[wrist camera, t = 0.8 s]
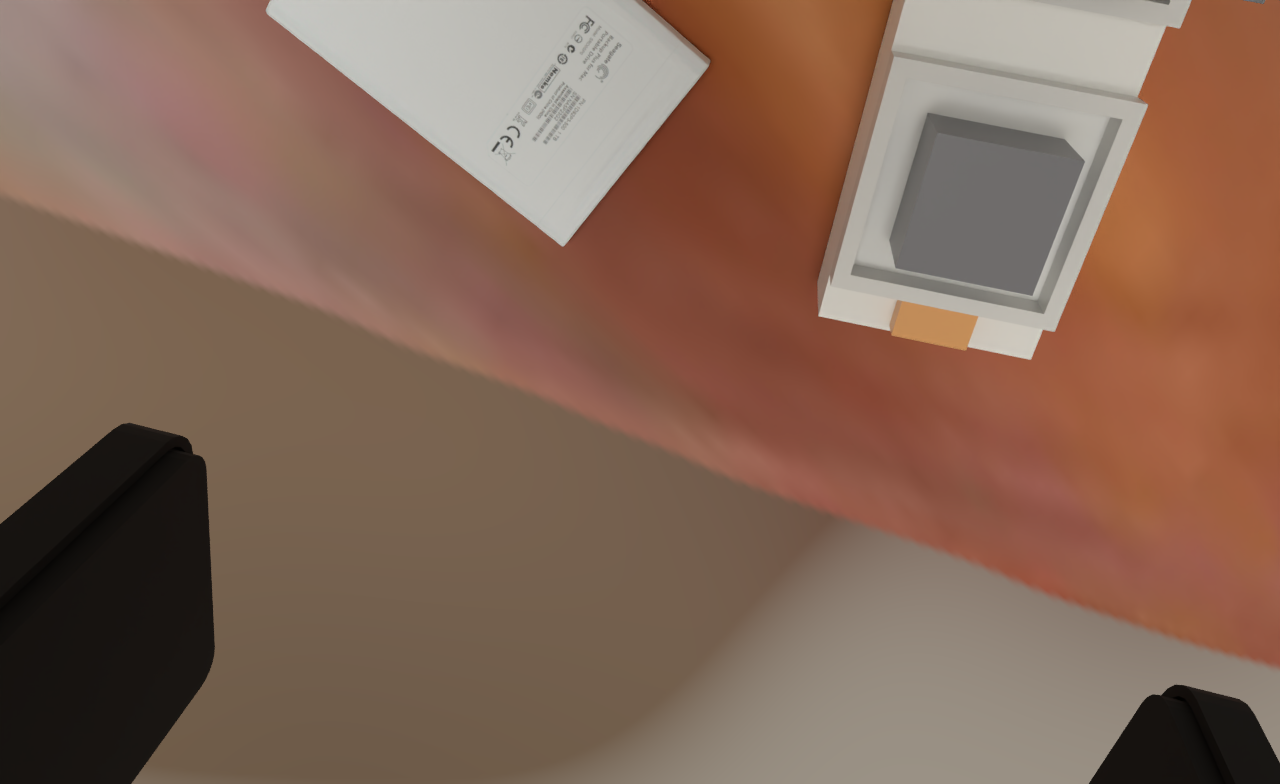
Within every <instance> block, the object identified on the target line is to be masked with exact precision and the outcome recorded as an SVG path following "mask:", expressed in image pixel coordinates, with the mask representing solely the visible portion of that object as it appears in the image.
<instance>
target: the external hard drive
mask: <svg viewBox="0 0 1280 784" xmlns="http://www.w3.org/2000/svg"><path fill="white" fill-rule="evenodd" d="M266 12H267V14H268V15H269V16H270V17H271V18H273V19H274V20H275V21H277V22H278V23H279V24H280V25H282V26H283V27H284V28H286V29H287V30H288V31H289V32H291V33H292V34H293V35H294V36H296V37H297V38H298V39H299V40H301V41H302V42H303V43H305V44H306V45H307V46H308V47H310V48H311V49H312V50H314V51H315V52H316V53H317V54H319V55H320V56H321V57H323V58H324V59H325V60H326V61H328V62H329V63H330V64H331V65H333V66H334V67H335V68H336V69H338V70H339V71H340V72H342V73H343V74H344V75H345V76H347V77H348V78H349V79H350V80H352V81H353V82H354V83H355V84H357V85H358V86H359V87H361V88H362V89H363V90H364V91H366V92H367V93H368V94H369V95H371V96H372V97H373V98H374V99H376V100H377V101H378V102H380V103H381V104H382V105H383V106H385V107H386V108H387V109H388V110H390V111H391V112H392V113H394V114H395V115H396V116H397V117H399V118H400V119H401V120H403V121H404V122H405V123H406V124H408V125H409V126H410V127H411V128H413V129H414V130H415V131H416V132H418V133H419V134H420V135H421V136H423V137H424V138H425V139H426V140H428V141H429V142H430V143H431V144H433V145H434V146H435V147H437V148H438V149H439V150H440V151H442V152H443V153H444V154H446V155H447V156H448V157H449V158H451V159H452V160H453V161H454V162H456V163H457V164H458V165H460V166H461V167H462V168H463V169H465V170H466V171H467V172H468V173H470V174H471V175H472V176H473V177H475V178H476V179H477V180H479V181H480V182H481V183H482V184H484V185H485V186H486V187H488V188H489V189H490V190H491V191H493V192H494V193H495V194H496V195H498V196H499V197H500V198H501V199H503V200H504V201H505V202H506V203H508V204H509V205H510V206H512V207H513V208H514V209H515V210H517V211H518V212H519V213H520V214H522V215H523V216H524V217H526V218H527V219H528V220H529V221H531V222H532V223H533V224H535V225H536V226H537V227H538V228H539V229H541V230H542V231H543V232H544V233H546V234H547V235H548V236H549V237H551V238H552V239H553V240H555V241H556V242H557V243H558V244H559V245H561V246H565V244H566V243H567V242H568V241H569V240H570V238H571V237H572V236H573V235H574V233H575V232H576V231H577V230H578V228H579V227H580V226H581V224H582V223H583V222H584V221H585V220H586V218H587V217H588V216H589V214H590V213H591V212H592V211H593V210H594V208H595V207H596V206H597V204H598V203H599V202H600V201H601V199H602V198H603V197H604V196H605V195H606V193H607V192H608V191H609V189H610V188H611V187H612V186H613V185H614V183H615V182H616V181H617V180H618V178H619V177H620V176H621V175H622V173H623V172H624V171H625V170H626V168H627V167H628V166H629V165H630V164H631V162H632V161H633V160H634V159H635V157H636V156H637V155H638V154H639V152H640V151H641V150H642V149H643V148H644V146H645V145H646V144H647V143H648V141H649V140H650V139H651V138H652V136H653V135H654V134H655V133H656V131H657V130H658V129H659V128H660V127H661V125H662V124H663V123H664V122H665V120H666V119H667V118H668V117H669V115H670V114H671V113H672V112H673V110H674V109H675V108H676V107H677V105H678V104H679V103H680V102H681V101H682V99H683V98H684V97H685V96H686V94H687V93H688V92H689V91H690V89H691V88H692V87H693V86H694V85H695V83H696V82H697V81H698V80H699V78H700V77H701V76H702V75H703V73H704V72H705V71H706V69H707V68H708V67H709V64H710V62H711V61H710V59H709V58H707V57H706V56H705V55H704V54H703V53H702V52H700V51H699V50H698V49H697V48H696V47H695V46H694V45H693V44H691V43H690V42H689V41H688V40H687V39H686V38H684V37H683V36H682V35H681V34H680V33H679V32H678V31H677V30H676V29H674V28H673V27H672V26H671V25H670V24H669V23H668V22H666V21H665V20H664V19H663V18H662V17H661V16H660V15H658V14H657V13H656V12H655V11H654V10H653V9H652V8H650V7H649V6H648V5H647V4H646V3H645V2H644V1H642V0H270V2H269V4H268V7H267V8H266Z"/></svg>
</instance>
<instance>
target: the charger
mask: <svg viewBox="0 0 1280 784" xmlns="http://www.w3.org/2000/svg"><path fill="white" fill-rule="evenodd" d="M1245 1H1250V2H1256V3H1261V4H1264V2H1265V0H1245Z"/></svg>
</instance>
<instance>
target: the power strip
mask: <svg viewBox="0 0 1280 784" xmlns="http://www.w3.org/2000/svg"><path fill="white" fill-rule="evenodd" d="M1190 3H1191V0H893V2H892V6H891V10H890V14H889V17H888V21H887V25H886V28H885V32H884V36H883V40H882V43H881V47H880V51H879V54H878V58H877V62H876V66H875V69H874V73H873V77H872V80H871V84H870V88H869V92H868V95H867V99H866V103H865V107H864V110H863V114H862V118H861V121H860V125H859V129H858V133H857V136H856V140H855V144H854V147H853V151H852V155H851V159H850V162H849V166H848V170H847V174H846V177H845V181H844V185H843V188H842V192H841V196H840V200H839V203H838V207H837V211H836V214H835V218H834V222H833V226H832V229H831V233H830V237H829V241H828V244H827V248H826V252H825V255H824V259H823V263H822V267H821V270H820V274H819V278H818V281H817V285H818V316H820V317H825V318H830V319H835V320H840V321H844V322H849V323H854V324H859V325H864V326H869V327H874V328H879V329H883V330H888V331H891V335H892V336H897V337H902V338H907V339H911V340H916V341H921V342H926V343H931V344H936V345H941V346H945V347H950V348H955V349H960V350H965V351H966V349H967V347H971V348H976V349H981V350H986V351H990V352H995V353H1000V354H1005V355H1010V356H1015V357H1020V358H1025V359H1029V360H1031V358H1032V355H1033V353H1034V351H1035V348H1036V346H1037V343H1038V341H1039V338H1040V336H1041V333H1042V331H1043V330H1047V331H1052V332H1055V329H1056V327H1057V325H1058V322H1059V320H1060V317H1061V315H1062V312H1063V310H1064V308H1065V305H1066V303H1067V300H1068V298H1069V296H1070V293H1071V291H1072V288H1073V286H1074V283H1075V281H1076V279H1077V276H1078V274H1079V271H1080V269H1081V267H1082V264H1083V262H1084V259H1085V257H1086V254H1087V252H1088V250H1089V247H1090V245H1091V242H1092V240H1093V238H1094V235H1095V233H1096V230H1097V228H1098V225H1099V223H1100V221H1101V218H1102V216H1103V213H1104V211H1105V208H1106V206H1107V204H1108V201H1109V199H1110V196H1111V194H1112V192H1113V189H1114V187H1115V184H1116V182H1117V179H1118V177H1119V175H1120V172H1121V170H1122V167H1123V165H1124V163H1125V160H1126V158H1127V155H1128V153H1129V150H1130V148H1131V146H1132V143H1133V141H1134V138H1135V136H1136V133H1137V131H1138V129H1139V126H1140V124H1141V121H1142V119H1143V117H1144V114H1145V112H1146V109H1147V107H1148V104H1147V103H1145V102H1144V101H1142V100H1141V99H1140V98H1138V95H1139V92H1140V90H1141V87H1142V85H1143V82H1144V80H1145V77H1146V75H1147V72H1148V70H1149V67H1150V65H1151V62H1152V60H1153V58H1154V55H1155V53H1156V50H1157V48H1158V45H1159V43H1160V40H1161V38H1162V35H1163V33H1164V30H1165V28H1166V26H1169V27H1175V28H1180V27H1181V25H1182V22H1183V20H1184V17H1185V15H1186V13H1187V10H1188V8H1189V5H1190Z"/></svg>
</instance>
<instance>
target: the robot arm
mask: <svg viewBox="0 0 1280 784" xmlns="http://www.w3.org/2000/svg"><path fill="white" fill-rule="evenodd" d="M208 518H209V516H208V494H207V473H206V464H205V461H204V459H203V458H202V457H201V456H198V455H195V454H193V452H192V446H191V444H190V442H189V440H188V439H187V438H185V437H183V436H180V435H176V434H172V433H168V432H164V431H159V430H156V429H152V428H148V427H144V426H140V425H136V424H132V423H127V424H121V425H120V426H118V427H117V428H115V429H113V430H112V431H111V432H110V433H108V434H107V435H106V436H105V437H104V438H102V439H101V440H100V441H99V442H98V443H97V444H95V445H94V446H93V447H92V448H91V449H89V450H88V451H87V452H86V453H85V454H83V455H82V456H81V457H80V458H79V459H77V460H76V461H75V462H74V463H73V464H71V465H70V466H69V467H68V468H67V469H66V470H64V471H63V472H62V473H61V474H60V475H58V476H57V477H56V478H55V479H54V480H52V481H51V482H50V483H49V484H48V485H46V486H45V487H44V488H43V489H42V490H40V491H39V492H38V493H37V494H36V495H35V496H33V497H32V498H31V499H30V500H29V501H28V502H26V503H25V504H24V505H23V506H21V507H20V508H19V509H18V510H17V511H15V512H14V513H13V514H12V515H11V516H10V517H8V518H7V519H6V520H5V521H3V522H2V523H1V524H0V784H131V783H132V782H133V781H134V779H135V778H136V776H137V775H138V774H139V772H140V771H141V769H142V768H143V767H144V765H145V764H146V762H147V761H148V760H149V758H150V757H151V756H152V754H153V753H154V751H155V750H156V749H157V747H158V746H159V744H160V743H161V741H162V740H163V739H164V738H165V736H166V735H167V733H168V732H169V731H170V729H171V728H172V726H173V725H174V724H175V722H176V721H177V719H178V718H179V717H180V715H181V714H182V713H183V711H184V709H185V708H186V707H187V706H188V704H189V703H190V701H191V700H192V699H193V697H194V696H195V694H196V693H197V692H198V690H199V689H200V687H201V686H202V684H203V683H204V681H205V679H206V677H207V675H208V673H209V671H210V668H211V665H212V662H213V657H214V649H215V648H214V647H215V645H214V623H213V601H212V581H211V559H210V537H209V519H208ZM1089 784H1280V763H1279V761H1278V759H1277V757H1276V755H1275V753H1274V751H1273V749H1272V747H1271V745H1270V743H1269V742H1268V740H1267V738H1266V736H1265V734H1264V732H1263V730H1262V728H1261V726H1260V724H1259V722H1258V720H1257V718H1256V716H1255V714H1254V713H1253V712H1252V710H1251V709H1250V707H1249V706H1248V705H1247V704H1246V703H1244V702H1243V701H1241V700H1240V699H1236V698H1232V697H1228V696H1224V695H1220V694H1216V693H1212V692H1208V691H1204V690H1200V689H1196V688H1192V687H1188V686H1184V685H1174V686H1172V687H1170V688H1168V689H1167V690H1166V691H1165V692H1164V693H1163V694H1162V695H1161V696H1160V695H1151V696H1149V697H1147V698H1146V699H1145V700H1144V701H1143V702H1142V704H1141V705H1140V707H1139V708H1138V710H1137V711H1136V713H1135V714H1134V716H1133V718H1132V719H1131V720H1130V722H1129V724H1128V725H1127V727H1126V728H1125V730H1124V731H1123V733H1122V734H1121V736H1120V737H1119V739H1118V740H1117V742H1116V743H1115V745H1114V746H1113V748H1112V749H1111V751H1110V752H1109V754H1108V755H1107V757H1106V758H1105V760H1104V761H1103V763H1102V764H1101V766H1100V768H1099V769H1098V771H1097V772H1096V774H1095V775H1094V777H1093V778H1092V780H1091V781H1090V783H1089Z"/></svg>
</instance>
